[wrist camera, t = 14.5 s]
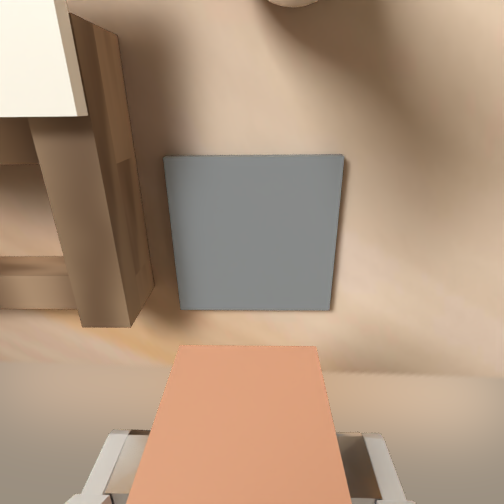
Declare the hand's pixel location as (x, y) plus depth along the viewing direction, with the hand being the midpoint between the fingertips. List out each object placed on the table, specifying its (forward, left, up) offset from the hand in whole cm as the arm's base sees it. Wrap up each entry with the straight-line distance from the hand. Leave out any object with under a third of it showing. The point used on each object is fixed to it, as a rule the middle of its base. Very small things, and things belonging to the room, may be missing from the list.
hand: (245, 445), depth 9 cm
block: (0, 0, -2) cm, 2 cm away
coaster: (0, 0, -15) cm, 16 cm away
